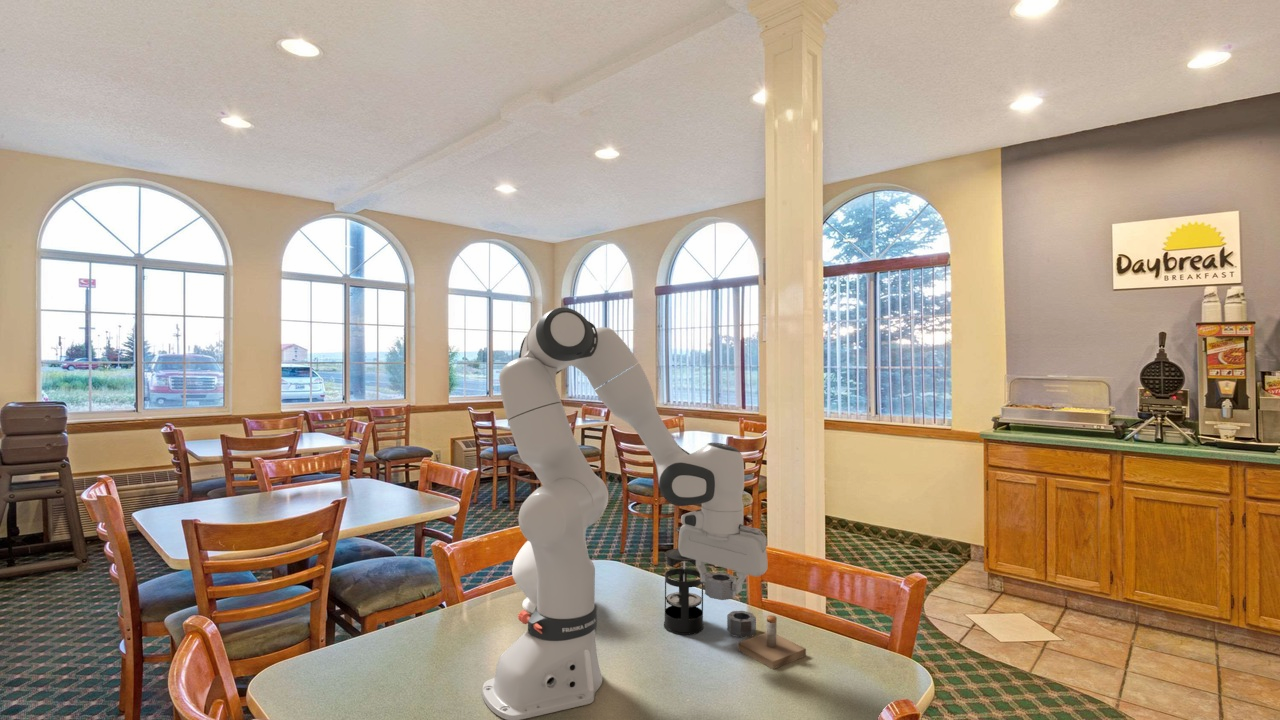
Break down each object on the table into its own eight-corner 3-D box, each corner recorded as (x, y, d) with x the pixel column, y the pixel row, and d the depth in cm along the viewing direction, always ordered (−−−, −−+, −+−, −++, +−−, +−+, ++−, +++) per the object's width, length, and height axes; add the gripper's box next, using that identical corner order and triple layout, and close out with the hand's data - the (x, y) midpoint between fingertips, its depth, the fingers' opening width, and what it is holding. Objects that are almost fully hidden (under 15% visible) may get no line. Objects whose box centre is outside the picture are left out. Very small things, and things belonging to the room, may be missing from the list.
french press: (705, 636, 135) (706, 534, 135) (663, 636, 135) (664, 533, 135) (701, 615, 147) (702, 521, 147) (663, 614, 147) (664, 520, 147)
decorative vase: (577, 619, 143) (578, 514, 144) (503, 617, 144) (505, 513, 144) (586, 591, 161) (587, 498, 161) (520, 590, 162) (521, 497, 162)
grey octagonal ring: (747, 639, 134) (748, 623, 134) (723, 632, 137) (723, 617, 137) (759, 630, 138) (759, 615, 139) (735, 623, 142) (735, 608, 142)
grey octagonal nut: (702, 596, 125) (702, 579, 125) (710, 587, 130) (711, 571, 130) (730, 601, 122) (730, 584, 122) (738, 592, 128) (738, 575, 128)
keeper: (772, 669, 121) (773, 631, 121) (737, 649, 129) (738, 614, 129) (805, 655, 126) (805, 620, 126) (770, 637, 135) (770, 604, 135)
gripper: (774, 527, 122) (772, 595, 122) (691, 509, 135) (690, 571, 135) (758, 533, 117) (757, 604, 117) (674, 514, 130) (673, 578, 130)
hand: (720, 586), depth 126 cm, fingers closed on grey octagonal nut, 6 cm apart
